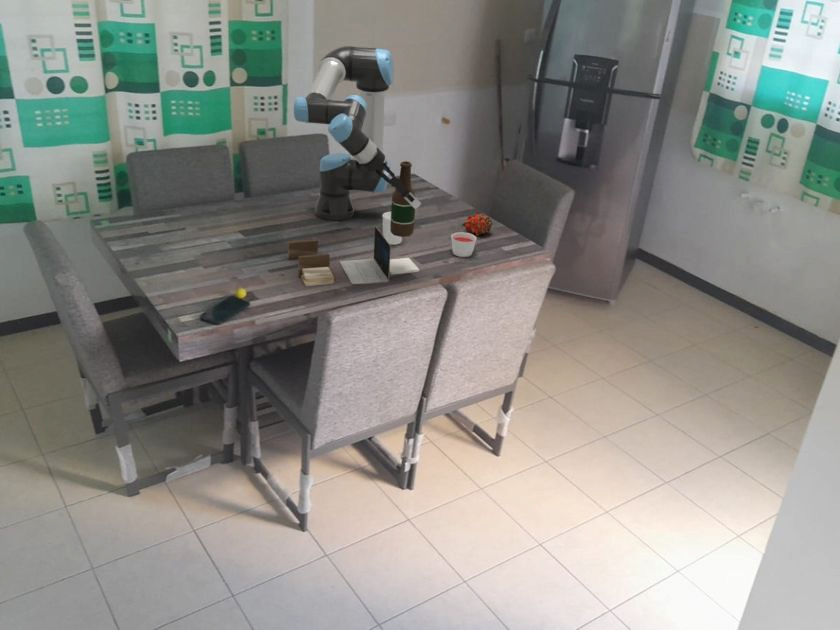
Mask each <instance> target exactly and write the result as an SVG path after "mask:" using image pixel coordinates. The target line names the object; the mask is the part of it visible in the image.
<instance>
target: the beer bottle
mask: <svg viewBox="0 0 840 630" xmlns="http://www.w3.org/2000/svg"><path fill="white" fill-rule="evenodd" d="M399 166H400V172H399V181H400V182H401V183H402V184H403V185H404V186H405V187H406V188H407V189H408V190H409V191H410V192H411V193H412V194H413V195H414V196H415V197H416V193H415V191H414V190H413V187H412V177H411V176H412V167H413V164H412V162H410V161H406V160H405V161H402V162H400V165H399ZM401 197H402V195H401V194H400V193H399V192H398V191H397V190H395V189H394V191H393V193H392V196H391V207H390V208H391V210H390V212H391V224H390V231H391V233H392V234H393V235H395V236H399V237H402V238H404V237H406V238H407V237H410V236H412V235H413V234H414V230H415V228H414V227H415V219H416V218H415V216H416V215H415V213H416V210H415V209H414V208H413V207H412V205H411V204H410V203H409V202H408V201H407V200H406V199H405V198H403V199H402V198H401Z"/></svg>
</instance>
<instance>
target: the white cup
mask: <svg viewBox="0 0 840 630" xmlns="http://www.w3.org/2000/svg"><path fill="white" fill-rule="evenodd" d="M390 224H391V211H387V212H384V213H383V214H382V235H383V236H384V238H385V239H386V240H387V242H388V243H389V244H390V246H391V245H393V246H394V245H395V246H396V245H399V244H402V241H403V237H399V236H395V235H393V234H392V233H391V231H390Z"/></svg>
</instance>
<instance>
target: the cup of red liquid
mask: <svg viewBox="0 0 840 630" xmlns="http://www.w3.org/2000/svg"><path fill="white" fill-rule="evenodd" d="M450 238H451V248H452V249H451V250H452V254H453V255H454V256H457V257H460V258H466V257H467V258H469V257H470V256H472V255H473V252H474V248H475V246H476V242H477V236H476V235H474V233H473V234H471V233H468V232H465V231H464V232H463V231H462V232H461V231H459V232H455V233H452V234H451V236H450Z"/></svg>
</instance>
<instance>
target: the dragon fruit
mask: <svg viewBox="0 0 840 630" xmlns="http://www.w3.org/2000/svg"><path fill="white" fill-rule="evenodd" d="M492 226H493V221H492V220H491V219H490V217H489V216H485V215H484V214H483V213H480V214H477V213H474V214H472V215H469V216H468V218H466V220H465V221H464V222H463V223H462V224H461V227H464V228H465V229H464V232H466V233H470V234H473V235H474V234H475V236H476V237H477V236H480V235H484V234H485V233H486V232H487V233H489V232H490V231H491V229H492Z"/></svg>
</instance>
